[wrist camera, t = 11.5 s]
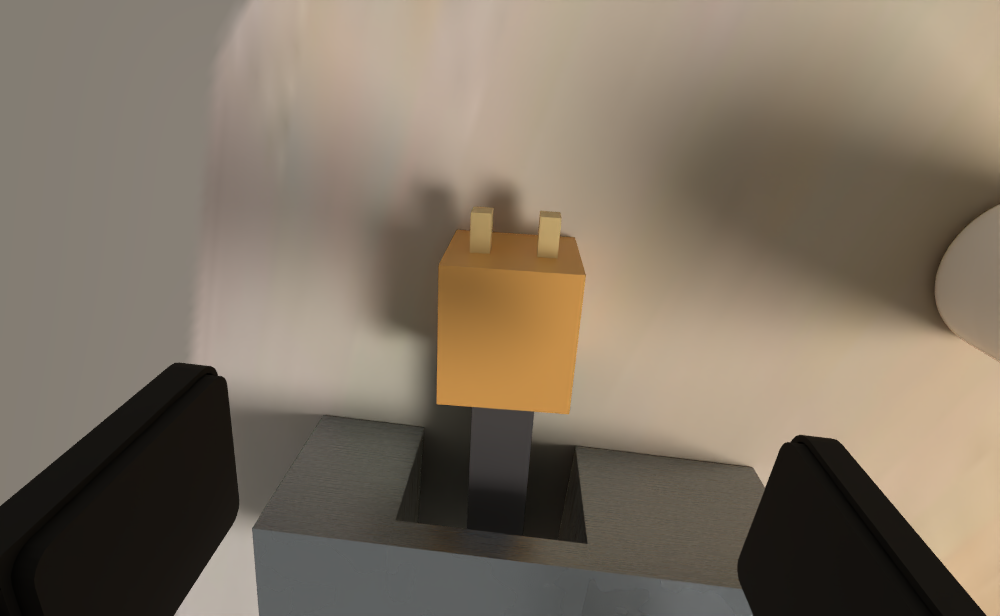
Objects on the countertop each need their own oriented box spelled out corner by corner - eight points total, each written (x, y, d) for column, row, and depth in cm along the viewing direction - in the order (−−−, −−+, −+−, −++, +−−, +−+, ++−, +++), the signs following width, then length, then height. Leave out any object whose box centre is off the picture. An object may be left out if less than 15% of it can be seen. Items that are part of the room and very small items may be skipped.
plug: (578, 201, 18) (590, 232, 14) (537, 576, 24) (539, 664, 21) (457, 194, 18) (439, 221, 15) (448, 568, 25) (433, 654, 21)
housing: (753, 467, 22) (830, 599, 16) (714, 579, 24) (769, 730, 18) (323, 415, 22) (252, 528, 16) (325, 531, 24) (263, 666, 18)
